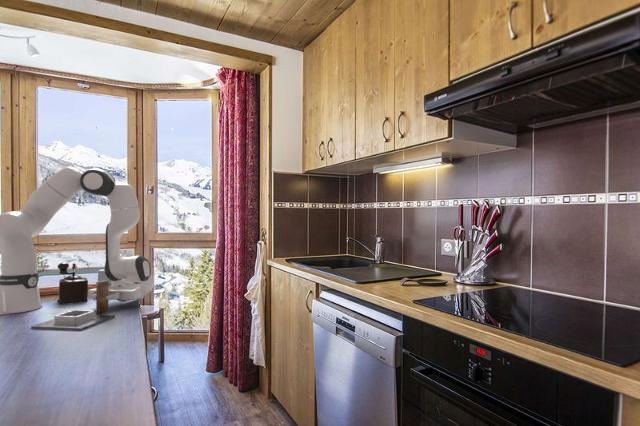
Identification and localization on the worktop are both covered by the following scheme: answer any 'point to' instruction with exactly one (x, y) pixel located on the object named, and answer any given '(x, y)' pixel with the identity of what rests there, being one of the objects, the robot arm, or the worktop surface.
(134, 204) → the robot arm
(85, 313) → the plate
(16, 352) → the worktop surface
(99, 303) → the walnut peg
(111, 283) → the skincare box
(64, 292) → the manual coffee grinder
